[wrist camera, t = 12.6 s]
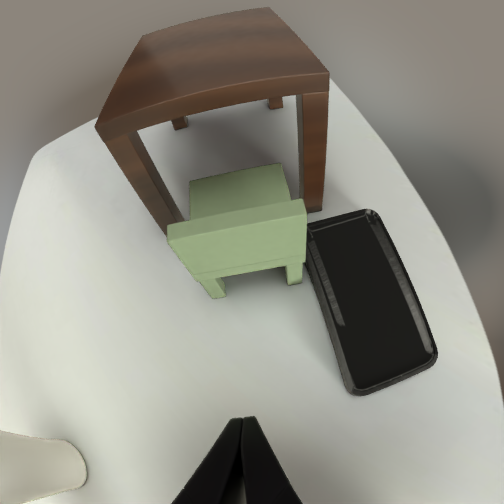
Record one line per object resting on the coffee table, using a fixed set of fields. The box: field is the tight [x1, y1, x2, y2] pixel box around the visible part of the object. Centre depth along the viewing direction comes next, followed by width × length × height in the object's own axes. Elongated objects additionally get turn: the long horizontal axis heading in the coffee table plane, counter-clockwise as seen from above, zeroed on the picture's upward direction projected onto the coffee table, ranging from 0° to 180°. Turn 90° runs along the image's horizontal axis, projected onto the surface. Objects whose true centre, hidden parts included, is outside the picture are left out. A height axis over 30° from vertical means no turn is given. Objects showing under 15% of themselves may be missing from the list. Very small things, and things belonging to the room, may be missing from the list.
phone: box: [305, 209, 438, 396], centre depth 22 cm, size 8×1×15 cm
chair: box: [167, 163, 307, 299], centre depth 22 cm, size 9×8×10 cm
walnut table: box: [95, 7, 329, 237], centre depth 26 cm, size 20×15×14 cm
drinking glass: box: [0, 430, 87, 504], centre depth 11 cm, size 7×7×15 cm
